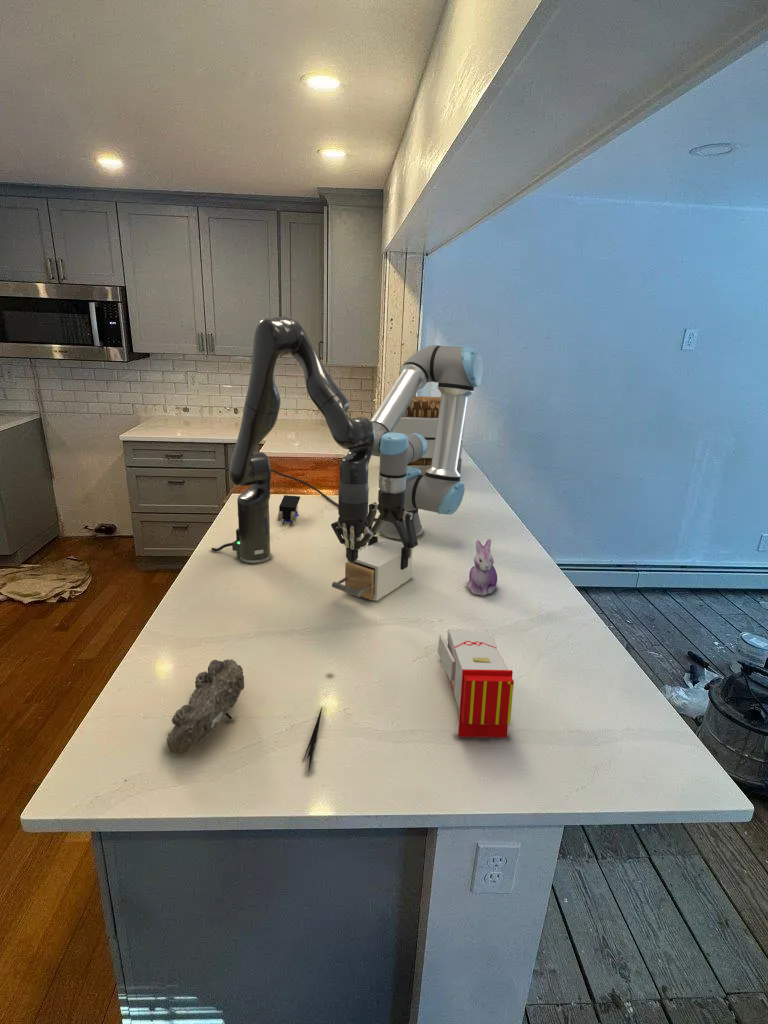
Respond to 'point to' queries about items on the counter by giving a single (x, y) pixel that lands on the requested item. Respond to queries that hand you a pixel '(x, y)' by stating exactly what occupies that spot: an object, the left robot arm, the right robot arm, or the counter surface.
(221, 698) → the fossil
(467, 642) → the toy
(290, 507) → the figurine character
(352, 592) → the drawer
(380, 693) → the counter surface
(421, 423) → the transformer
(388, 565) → the cabinet
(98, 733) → the counter surface
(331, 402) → the left robot arm
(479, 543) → the figurine
